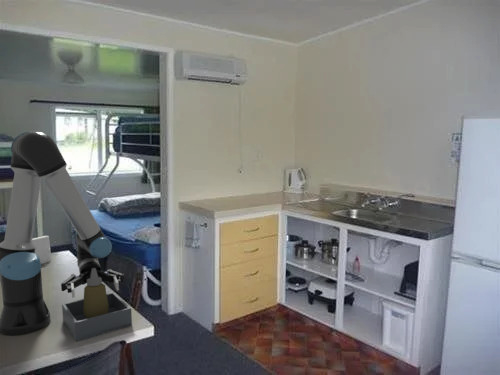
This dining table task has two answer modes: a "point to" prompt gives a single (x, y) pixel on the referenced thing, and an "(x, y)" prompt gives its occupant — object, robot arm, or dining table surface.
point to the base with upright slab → (42, 248)
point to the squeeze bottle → (95, 296)
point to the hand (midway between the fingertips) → (95, 290)
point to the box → (96, 318)
